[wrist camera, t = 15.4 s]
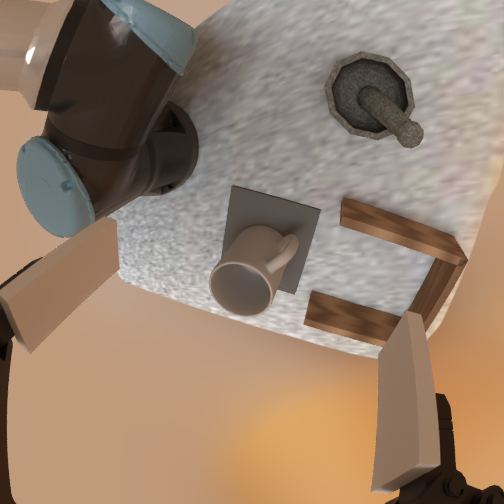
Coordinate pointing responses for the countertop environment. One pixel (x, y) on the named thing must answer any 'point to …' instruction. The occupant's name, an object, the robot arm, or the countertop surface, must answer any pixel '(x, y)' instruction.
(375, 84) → the mortar and pestle
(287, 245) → the mug
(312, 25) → the countertop surface
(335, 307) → the open-sided wooden frame
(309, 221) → the mat
